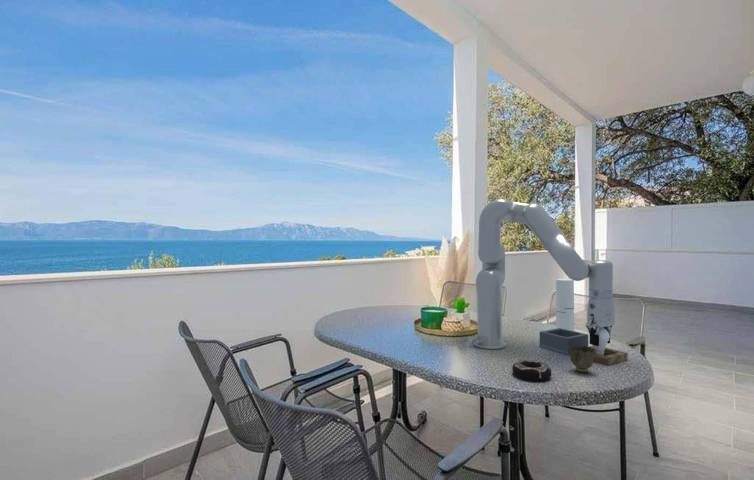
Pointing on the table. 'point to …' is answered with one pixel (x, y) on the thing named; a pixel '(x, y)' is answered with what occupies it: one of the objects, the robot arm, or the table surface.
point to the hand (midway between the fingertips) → (599, 343)
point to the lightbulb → (602, 340)
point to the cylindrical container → (565, 304)
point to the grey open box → (562, 339)
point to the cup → (582, 357)
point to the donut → (531, 370)
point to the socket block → (609, 356)
